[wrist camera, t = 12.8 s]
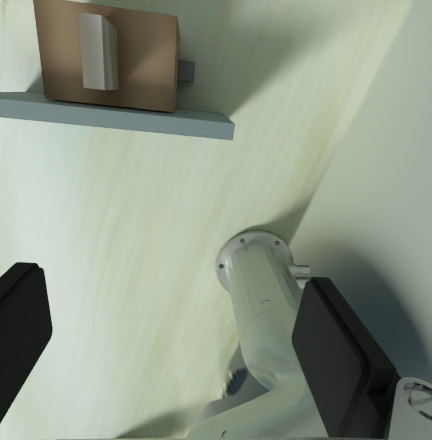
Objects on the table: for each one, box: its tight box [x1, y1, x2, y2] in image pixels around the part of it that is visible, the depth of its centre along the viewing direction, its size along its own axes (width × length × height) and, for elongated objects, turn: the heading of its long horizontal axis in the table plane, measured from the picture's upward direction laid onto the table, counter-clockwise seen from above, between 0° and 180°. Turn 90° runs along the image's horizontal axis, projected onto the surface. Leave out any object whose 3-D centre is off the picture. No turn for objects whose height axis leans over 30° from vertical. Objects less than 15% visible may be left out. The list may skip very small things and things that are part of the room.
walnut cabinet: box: [33, 0, 180, 112], centre depth 28 cm, size 12×8×14 cm, turn 84°
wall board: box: [0, 92, 235, 140], centre depth 31 cm, size 24×2×12 cm, turn 83°
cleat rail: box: [177, 60, 195, 82], centre depth 34 cm, size 16×2×2 cm, turn 83°
